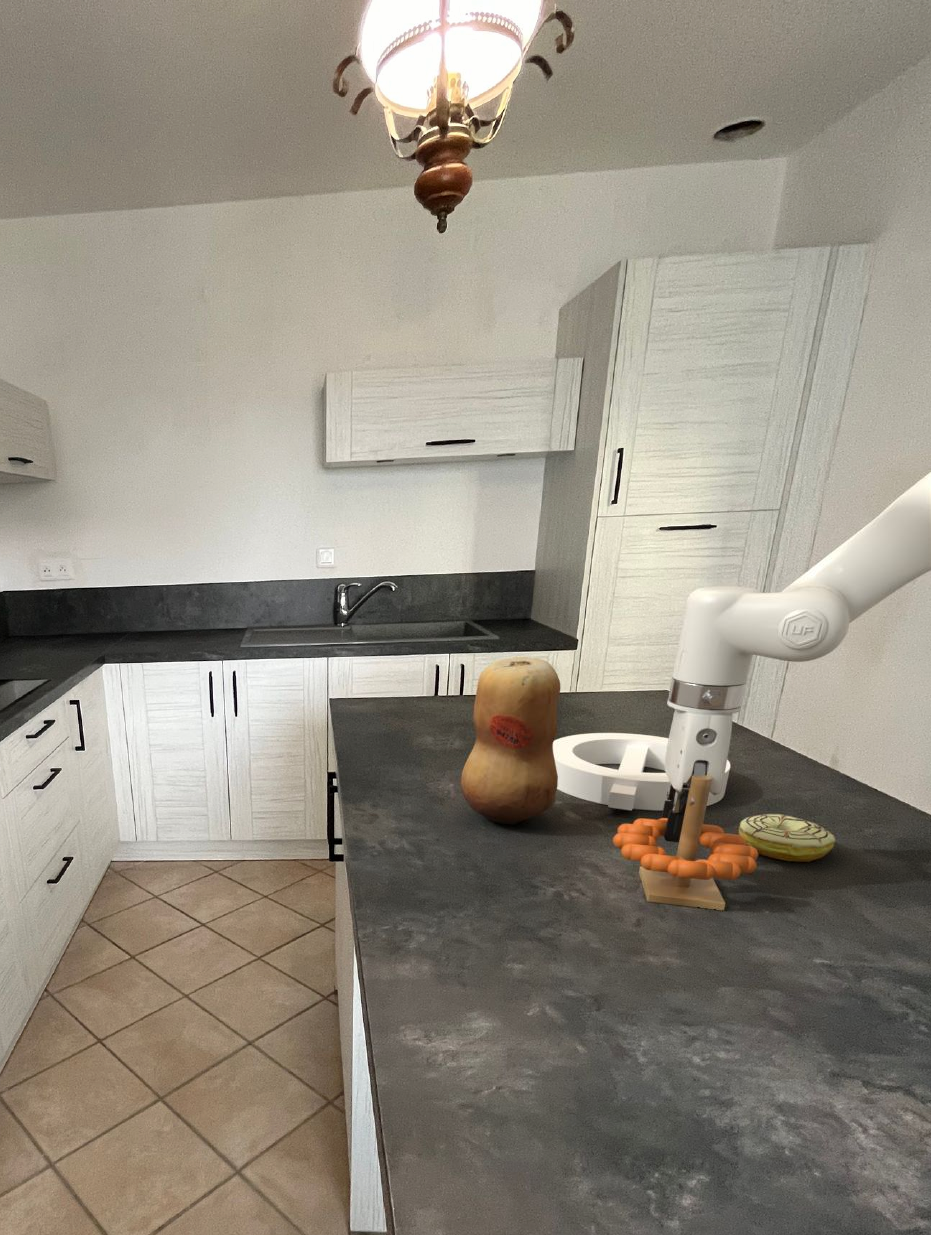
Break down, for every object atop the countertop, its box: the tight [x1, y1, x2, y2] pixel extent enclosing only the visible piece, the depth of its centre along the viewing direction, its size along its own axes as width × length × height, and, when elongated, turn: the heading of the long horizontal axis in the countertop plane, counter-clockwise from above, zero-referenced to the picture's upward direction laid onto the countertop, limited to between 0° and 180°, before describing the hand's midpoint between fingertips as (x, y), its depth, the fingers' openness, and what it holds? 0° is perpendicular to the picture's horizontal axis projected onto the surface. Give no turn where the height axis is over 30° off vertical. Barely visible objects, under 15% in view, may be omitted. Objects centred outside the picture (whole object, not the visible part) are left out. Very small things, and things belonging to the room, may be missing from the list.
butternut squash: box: [460, 656, 561, 825], centre depth 108 cm, size 14×13×25 cm
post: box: [638, 775, 726, 912], centre depth 87 cm, size 8×8×15 cm
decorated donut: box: [738, 813, 836, 863], centre depth 99 cm, size 10×11×4 cm
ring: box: [612, 817, 759, 881], centre depth 88 cm, size 16×13×2 cm
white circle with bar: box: [553, 732, 731, 811], centre depth 126 cm, size 28×28×5 cm
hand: (676, 834), depth 93 cm, fingers closed on ring, 2 cm apart
